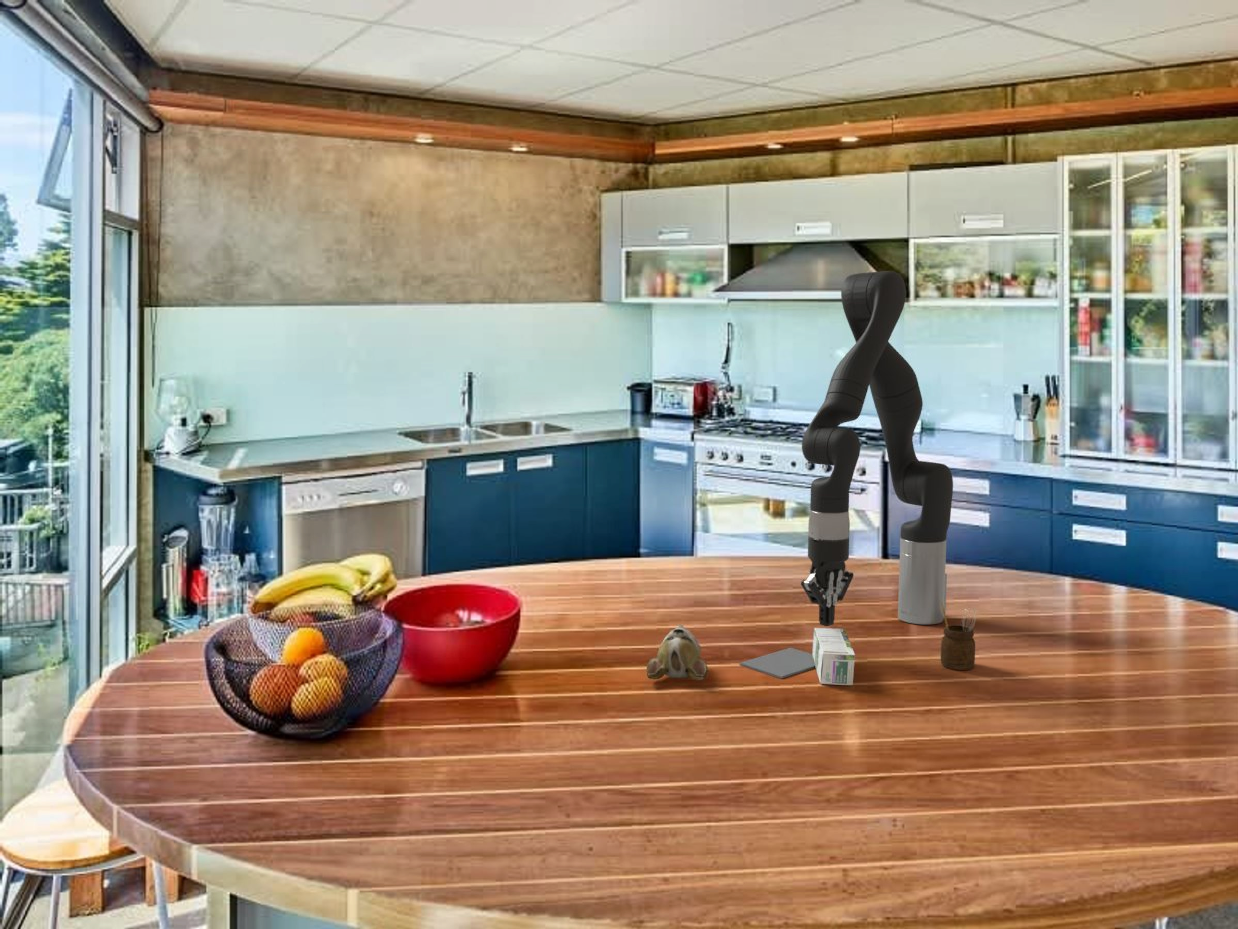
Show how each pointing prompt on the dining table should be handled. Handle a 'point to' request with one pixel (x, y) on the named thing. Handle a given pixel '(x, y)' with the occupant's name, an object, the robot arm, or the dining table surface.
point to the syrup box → (833, 656)
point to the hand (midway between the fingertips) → (826, 624)
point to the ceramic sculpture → (678, 657)
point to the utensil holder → (958, 645)
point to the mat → (782, 663)
